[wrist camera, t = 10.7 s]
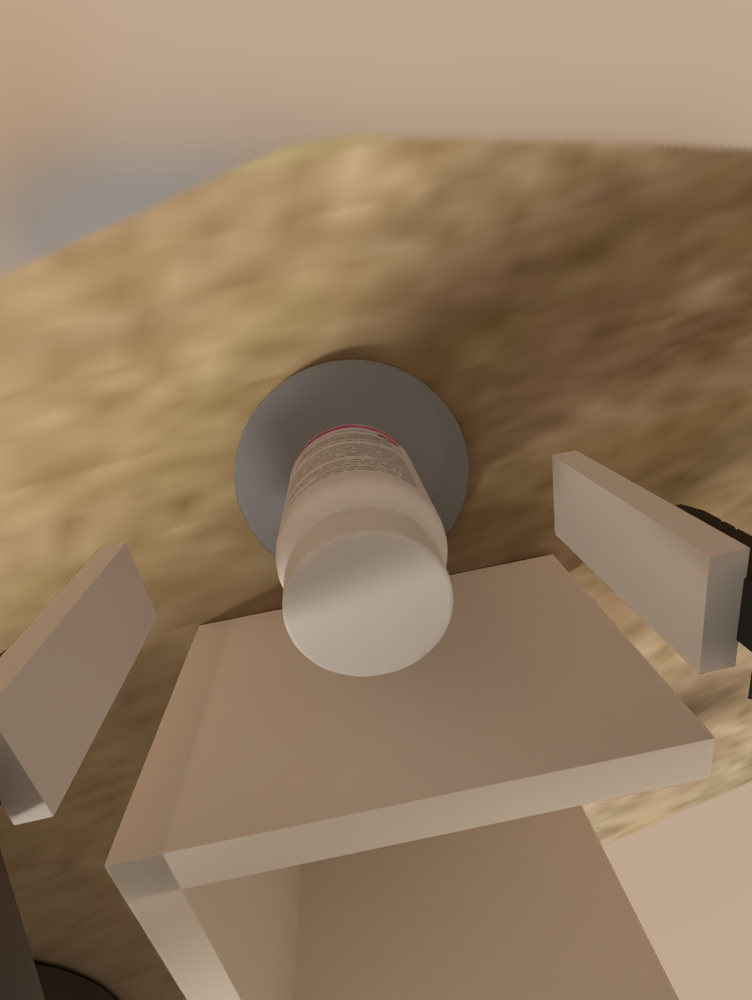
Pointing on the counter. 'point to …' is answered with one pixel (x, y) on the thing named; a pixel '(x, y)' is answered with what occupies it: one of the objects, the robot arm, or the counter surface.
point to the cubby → (406, 808)
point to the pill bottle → (361, 555)
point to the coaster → (340, 401)
